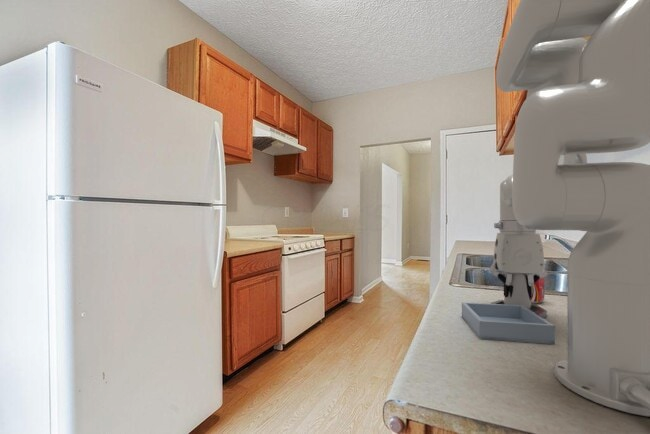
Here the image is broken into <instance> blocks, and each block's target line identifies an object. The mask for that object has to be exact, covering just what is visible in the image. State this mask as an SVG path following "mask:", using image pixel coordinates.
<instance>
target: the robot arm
mask: <svg viewBox="0 0 650 434" xmlns="http://www.w3.org/2000/svg"><path fill="white" fill-rule="evenodd" d="M586 37H589V38H588V39H585V38H586ZM495 79H496V81H495V82H496V86H497V88H498V89H499V90H500V91H502V92H503V93H512V92H522V91H527V92H526V99H525V100H524V101H523V102H522V105H521V106H520V109H519V112H518V114H517V118H516V120H515V121H516V122H515V127H514V138H513V161H512V162H513V163H512V164H513V166H512V168H513V170H512V174H511V175H509V176H508V177H506V179H504V180H502V181H501V182H500V186H499V221H498V222H494V224H493V227H494V229H498V231H499V232H497V233H496V237H495V242H494V248H493V249H494V250H493V262H492V264H491V265H490V268H489V269H488V273H489V274H490V275H492V276H494V277H496V278H498V279H499V281H501V283H502V284H503V297H504V298H505V297H508V295H509V292H510V297H512V293H513V286H512V285H511V280H512V274H525V275H526V280H527V290H528V295H529V299H530V298H531V297H532V286H534V283H535V282H537V281H538V280H539V279H540V278H543V277H547V276H548V275H549V274H548V272H547V270H546V268H545V256H544V248H543V247H544V246H543V243H542V238H541V234H540V233H536V231H537V230H538V231H581V232H585V233H584V235H583V236H582V237H581V239H580V240H579V241H578V242H577V243H576V244H575V246H573V248H572V250H571V252H570V254H569V255H568V256H569V257H568V260H567V274H566V276H567V277H566V278H567V285H566V286H567V287H566V288H567V293H566V294H567V299H566V300H567V302H566V303H567V304H566V305H567V307H566V308H567V312H566V313H567V316H566V317H567V358H566V359H562V360H560V361H557V362H556V363H555V364H554V375H555V377H556V379H557V380H558V381H559V382H560V383H561V384H562V385H564V386H565V387H566V388H567V389H568V390H570V391H572V392H574V393H576V394H577V395H579V396H581V397H583V398H586V399H587V400H589V401H592V402H594V403H596V404H599V405H602V406H604V407H607V408H611V409H614V410H617V411H621V412H625V413H628V414H633V415H636V416H643V417H650V164H647V163H641V162H635V161H634V162H633V161H617V162H616V161H614V162H613V161H612V162H611V161H610V162H588V158H587V155H588V154H607V153H618V152H628V151H632V150H637V149H640V148H641V147H645V146H646V145H648V144H650V0H519V2H518V5H517V7H516V10H515V13H514V15H513V18H512V21H511V24H510V26H509V29H508V31H507V35H506V37H505V40H504V42H503V46H502V48H501V52H500V54H499V57H498V62H497V68H496V75H495ZM561 156H563V162H562V164H559V160H560V158H561ZM500 272H501V273H500Z"/></svg>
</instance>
